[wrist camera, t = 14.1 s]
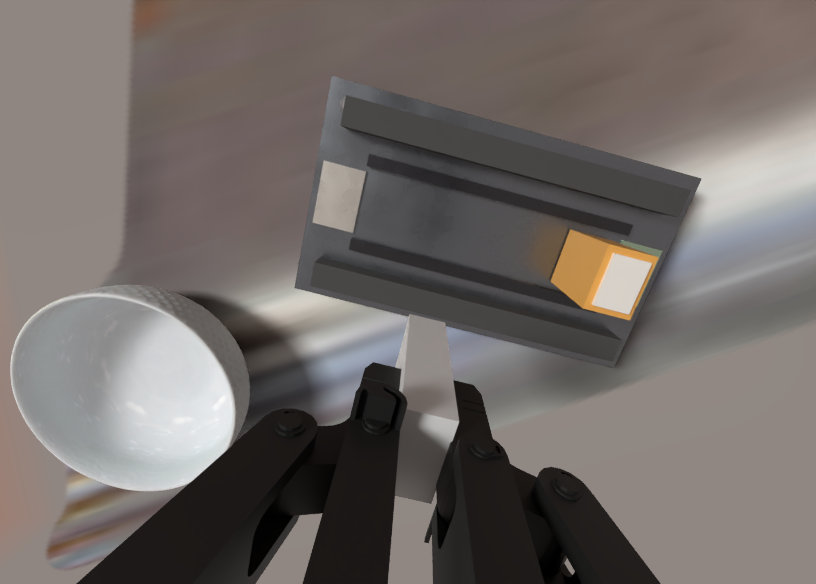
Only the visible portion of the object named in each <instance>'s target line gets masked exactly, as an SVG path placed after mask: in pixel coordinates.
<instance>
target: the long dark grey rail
mask: <svg viewBox="0 0 816 584" xmlns="http://www.w3.org/2000/svg"><path fill="white" fill-rule="evenodd" d="M340 125H341V126H342V127H344V128H346V129H350V130H354V131H357V132H361V133H365V134H368V135H372V136H376V137H379V138H383V139H387V140H390V141H394V142H398V143H401V144H405V145H409V146H412V147H416V148H420V149H423V150H427V151H431V152H434V153H438V154H442V155H446V156H449V157H453V158H457V159H460V160H464V161H468V162H471V163H475V164H479V165H482V166H486V167H490V168H493V169H497V170H501V171H504V172H508V173H512V174H515V175H519V176H523V177H526V178H530V179H534V180H537V181H541V182H545V183H549V184H552V185H556V186H560V187H563V188H567V189H571V190H574V191H578V192H582V193H585V194H589V195H593V196H596V197H600V198H604V199H607V200H611V201H615V202H618V203H622V204H626V205H629V206H633V207H637V208H640V209H644V210H648V211H651V212H655V213H659V214H663V215H668V216H674V217H679V216H680V214H681V211H682V209H683V207H684V205H685V203H686V201H687V198H688V196H689V194H690V192H691V190H689V189H685V188H681V187H678V186H674V185H670V184H667V183H663V182H660V181H656V180H652V179H649V178H645V177H641V176H638V175H634V174H631V173H627V172H623V171H620V170H616V169H613V168H609V167H605V166H602V165H598V164H594V163H591V162H587V161H584V160H580V159H576V158H573V157H569V156H565V155H562V154H558V153H555V152H551V151H547V150H544V149H540V148H536V147H533V146H529V145H526V144H522V143H518V142H515V141H511V140H507V139H504V138H500V137H497V136H493V135H489V134H486V133H482V132H478V131H475V130H471V129H468V128H464V127H460V126H457V125H453V124H449V123H446V122H442V121H439V120H435V119H431V118H428V117H424V116H421V115H417V114H413V113H410V112H406V111H402V110H399V109H395V108H392V107H388V106H384V105H381V104H377V103H373V102H370V101H366V100H363V99H359V98H355V97H352V96H348V95H346V98H345V103H344V108H343V113H342V119H341V124H340Z"/></svg>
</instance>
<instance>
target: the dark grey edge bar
mask: <svg viewBox="0 0 816 584" xmlns="http://www.w3.org/2000/svg"><path fill="white" fill-rule="evenodd" d="M310 286H312V287H316V288H320V289H324V290H328V291H332V292H336V293H340V294H344V295H348V296H352V297H356V298H360V299H364V300H368V301H372V302H376V303H380V304H384V305H388V306H392V307H396V308H400V309H404V310H408V311H412V312H416V313H420V314H424V315H428V316H432V317H436V318H440V319H444V320H448V321H452V322H456V323H460V324H464V325H468V326H472V327H475V328H479V329H483V330H487V331H491V332H495V333H499V334H503V335H507V336H511V337H515V338H519V339H523V340H527V341H531V342H535V343H539V344H543V345H547V346H551V347H555V348H559V349H563V350H567V351H571V352H575V353H579V354H583V355H587V356H591V357H595V358H599V359H603V360H607V361H611V362H612V361H613V359H614V357H615V355H616V353H617V351H618V348H619V346H620V344H621V342H622V340H621V339H620V338H619V337H617V336H616V335H615V334H614V333H613V332H611V331H609V330H605V329H601V328H597V327H594V326H590V325H586V324H582V323H578V322H574V321H570V320H566V319H562V318H558V317H554V316H550V315H546V314H543V313H539V312H535V311H531V310H527V309H523V308H519V307H515V306H511V305H507V304H503V303H499V302H496V301H492V300H488V299H484V298H480V297H476V296H472V295H468V294H464V293H460V292H456V291H452V290H448V289H445V288H441V287H437V286H433V285H429V284H425V283H421V282H417V281H413V280H409V279H405V278H401V277H398V276H394V275H390V274H386V273H382V272H378V271H374V270H370V269H366V268H362V267H358V266H354V265H351V264H347V263H343V262H339V261H335V260H331V259H327V258H323V257H320V258H319V259H318V260H316V261H315V262H314V267H313V272H312V278H311V283H310Z"/></svg>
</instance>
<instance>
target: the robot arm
mask: <svg viewBox="0 0 816 584" xmlns="http://www.w3.org/2000/svg"><path fill="white" fill-rule="evenodd" d="M435 491H437V504H436V507H435V510H434V513H433V516H432V519H431V521H430V524H429V527H428V530H427V533H426V536H425V541H424V542H426V543H429V540H430V537H431V535H432V553H433V554H432V555H433V584H660V582H659V581H658V580H657V578H656V577H655V576H654V574H653V573H652V572H651V571H650V569H649V568H648V566H647V565H646V564H645V563H644V561H643V560H642V559H641V557H640V556H639V555H638V553H637V552H636V551H635V550H634V548H633V547H632V545H631V544H630V543H629V541H628V540H627V539H626V537H625V536H624V535H623V533H622V532H621V531H620V530H619V528H618V527H617V526H616V524H615V523H614V522H613V521H612V519H611V518H610V517H609V515H608V514H607V512H606V511H605V510H604V508H603V507H602V506H601V505H600V503H599V502H598V500H597V499H596V498H595V497H594V495H593V494H592V493H591V491H590V490H589V489H588V488H587V487H586V485H585V484H584V483H583V482H582V481H581V480H579V479H578V478H576V477H575V476H574V475H572V474H571V473H569V472H566V471H564V470H562V469H558V468H554V467H549V468H544V469H543V470H541V471H540V472H539V475H538V477H535V476H533V475H531V474H528V473H526V472H524V471H522V470H520V469H518V468H516V467H514V466H513V465H511V464H510V462H509V459H508V456H507V454H506V452H505V450H504V448H503V447H502V446H501V445H500V444H499V443H498V442H497V441H495V440H493V438H492V434H491V430H490V426H489V423H488V419H487V415H486V411H485V407H484V403H483V399H482V395H481V394H480V393H479V391H478V390H477V389H476V388H475V386H474V385H471V384H467V383H463V382H458V381H454V380H453V375H452V368H451V361H450V354H449V347H448V340H447V333H446V326H445V322H441V321H437V320H433V319H429V318H424V317H420V316H416V315H412V314H410V315H409V318H408V322H407V326H406V330H405V333H404V337H403V341H402V345H401V349H400V352H399V356H398V360H397V364H396V367H391V366H386V365H382V364H378V363H374V362H373V363H372V364H370V365H369V366H368V367H366V368H365V371H364V374H363V378H362V381H361V385H360V387H359V388H358V390H357V391H356V394H355V399H354V403H353V407H352V411H351V415H350V418H348V419H347V420H346V421H345V422H343V423H341V424H337V425H334V426H317V422H316V421H315V419H314V418H313V417H312V416H311V415H309V414H308V413H306V412H304V411H301V410H297V409H280V410H276V411H273V412H271V413H269V414H268V415H266V416H265V417H264V418H262V419H261V420H260V421H259V422H258V423H257V424H256V425H255V426H253V427H252V428H251V429H250V430H249V431H248V432H247V433H246V434H244V435H243V436H242V437H241V438H240V439H239V440H238V441H237V442H235V443H234V444H233V445H232V446H231V447H230V448H229V449H228V450H226V451H225V452H224V453H223V454H222V455H221V456H220V457H219V458H217V459H216V460H215V461H214V462H213V463H212V464H211V465H210V466H208V467H207V468H206V469H205V470H204V471H203V472H202V473H201V474H199V475H198V476H197V477H196V478H195V479H194V480H193V481H192V482H190V483H189V484H188V485H187V486H186V487H185V488H184V489H183V490H181V491H180V492H179V493H178V494H177V495H176V496H175V497H174V498H172V499H171V500H170V501H169V502H168V503H167V504H166V505H165V506H163V507H162V508H161V509H160V510H159V511H158V512H157V513H156V514H154V515H153V516H152V517H151V518H150V519H149V520H148V521H146V522H145V523H144V524H143V525H142V526H141V527H140V528H139V529H137V530H136V531H135V532H134V533H133V534H132V535H131V536H130V537H128V538H127V539H126V540H125V541H124V542H123V543H122V544H121V545H119V546H118V547H117V548H116V549H115V550H114V551H113V552H112V553H110V554H109V555H108V556H107V557H106V558H105V559H104V560H103V561H101V562H100V563H99V564H98V565H97V566H96V567H95V568H94V569H92V570H91V571H90V572H89V573H88V574H87V575H86V576H85V577H83V578H82V579H81V580H80V581H79V582H78V583H77V584H255V583H256V582H257V580H258V579H259V577H260V576H261V574H262V573H263V571H264V570H265V568H266V567H267V566H268V564H269V563H270V561H271V560H272V558H273V557H274V555H275V554H276V552H277V551H278V549H279V548H280V546H281V545H282V543H283V542H284V540H285V539H286V537H287V536H288V534H289V533H290V531H291V530H292V528H293V527H294V525H295V524H296V522H297V520H298V518H299V516H300V515H307V514H319V513H323V514H322V518H321V521H320V525H319V529H318V532H317V535H316V539H315V542H314V546H313V549H312V553H311V556H310V560H309V563H308V567H307V571H306V574H305V577H304V581H303V584H388V572H389V560H390V548H391V536H392V523H393V511H394V499H395V496H399V497H404V498H408V499H413V500H417V501H422V502H426V503H430V504H431V502H432V500H433V497H434V494H435ZM566 558H568V560H569V562H570V563H571V565H572V567H573V569H574V570H575V573H574V574H573V575H572V574H571V573H570V572H569V570H568V569H567V567H566V565H565V564H564V563H565V561H566Z"/></svg>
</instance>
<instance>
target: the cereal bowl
mask: <svg viewBox="0 0 816 584" xmlns="http://www.w3.org/2000/svg"><path fill="white" fill-rule="evenodd" d="M10 372H11V383H12V390H13V393H14V397H15V400H16V402H17V405H18V408H19V410H20V412H21V414H22V416H23V418H24V420H25V421H26V423H27V425H28V426H29V428H30V429H31V430H32V432H33V433H34V435H35V436H36V437H37V438H38V439H39V440H40V442H41V443H42V444H43V445H44V446H45V447H46V448H47V449H48V450H49V451H50V452H51V453H52V454H54V455H55V456H56V457H57V458H58V459H59V460H61V461H62V462H63V463H65V464H66V465H68V466H69V467H71V468H72V469H74V470H75V471H77V472H79V473H81V474H83V475H85V476H87V477H89V478H91V479H94V480H96V481H99V482H101V483H104V484H107V485H110V486H114V487H118V488H122V489H127V490H136V491H161V490H168V489H173V488H177V487H181V486H184V485H186V484H189V483H190V482H192V481H193V480H194V479H195V478H196V477H197V476H198V475H199V474H201V473H202V472H203V471H204V470H205V469H206V468H207V467H208V466H210V465H211V464H212V463H213V462H214V461H215V460H216V459H217V458H219V457H220V456H221V455H222V454H223V453H224V452H225V451H226V450H228V449H229V448H230V447H231V446H232V445H233V443H234V441H235V440H236V438H237V437H238V434H239V432H240V431H241V428H242V425H243V423H244V421H245V417H246V415H247V411H248V407H249V397H250V382H249V374H248V369H247V365H246V363H245V359H244V356H243V354H242V352H241V349H240V348H239V345H238V344H237V343H236V340H235V339H234V338H233V336H232V335H231V334H230V332H229V330H227V329H226V327H225V326H224V325H223V324H222V323H221V321H219V320H218V319H217V318H216V317H214V315H213V314H212V313H210V312H209V311H208V310H206V309H204V307H203V306H201V305H199V304H197V303H195V302H194V301H192V300H191V299H188V298H186V297H185V296H182V295H180V294H177V293H174V292H172V291H168V290H165V289H161V288H156V287H151V286H141V285H116V286H106V287H102V288H96V289H92V290H87V291H84V292H81V293H76V294H74V295H71V296H67V297H65V298H62V299H59V300H57V301H54V302H52V303H50V304H48V305H47V306H45V307H43V308H42V309H40V310H39V311H38V312H36V313H35V314H34V315H33V316H32V317H31V318H30V319H29V320H28V321H27V322H26V324H25V325H24V327H23V328H22V330H21V331H20V333H19V335H18V337H17V339H16V342H15V345H14V348H13V352H12V357H11V368H10Z"/></svg>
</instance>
